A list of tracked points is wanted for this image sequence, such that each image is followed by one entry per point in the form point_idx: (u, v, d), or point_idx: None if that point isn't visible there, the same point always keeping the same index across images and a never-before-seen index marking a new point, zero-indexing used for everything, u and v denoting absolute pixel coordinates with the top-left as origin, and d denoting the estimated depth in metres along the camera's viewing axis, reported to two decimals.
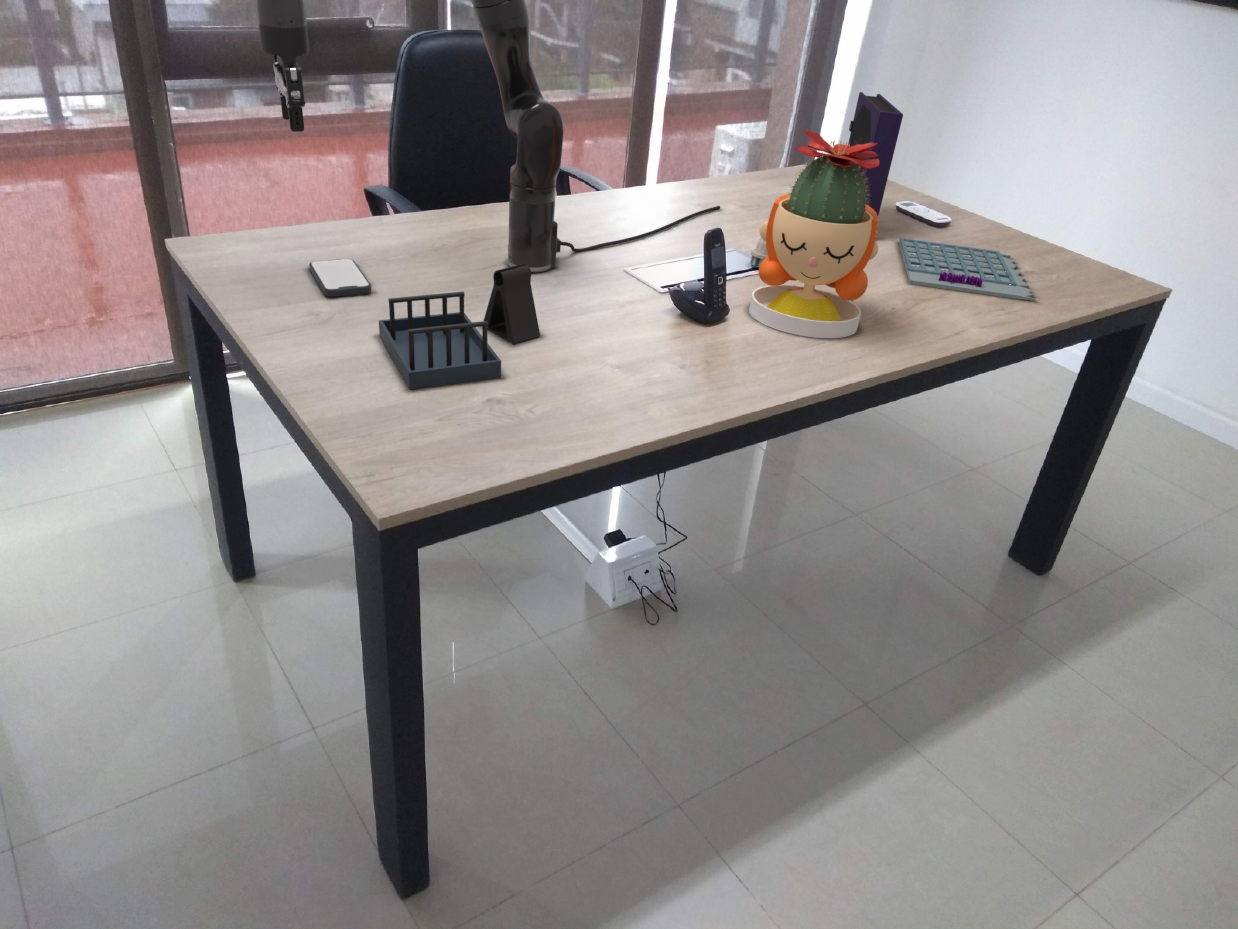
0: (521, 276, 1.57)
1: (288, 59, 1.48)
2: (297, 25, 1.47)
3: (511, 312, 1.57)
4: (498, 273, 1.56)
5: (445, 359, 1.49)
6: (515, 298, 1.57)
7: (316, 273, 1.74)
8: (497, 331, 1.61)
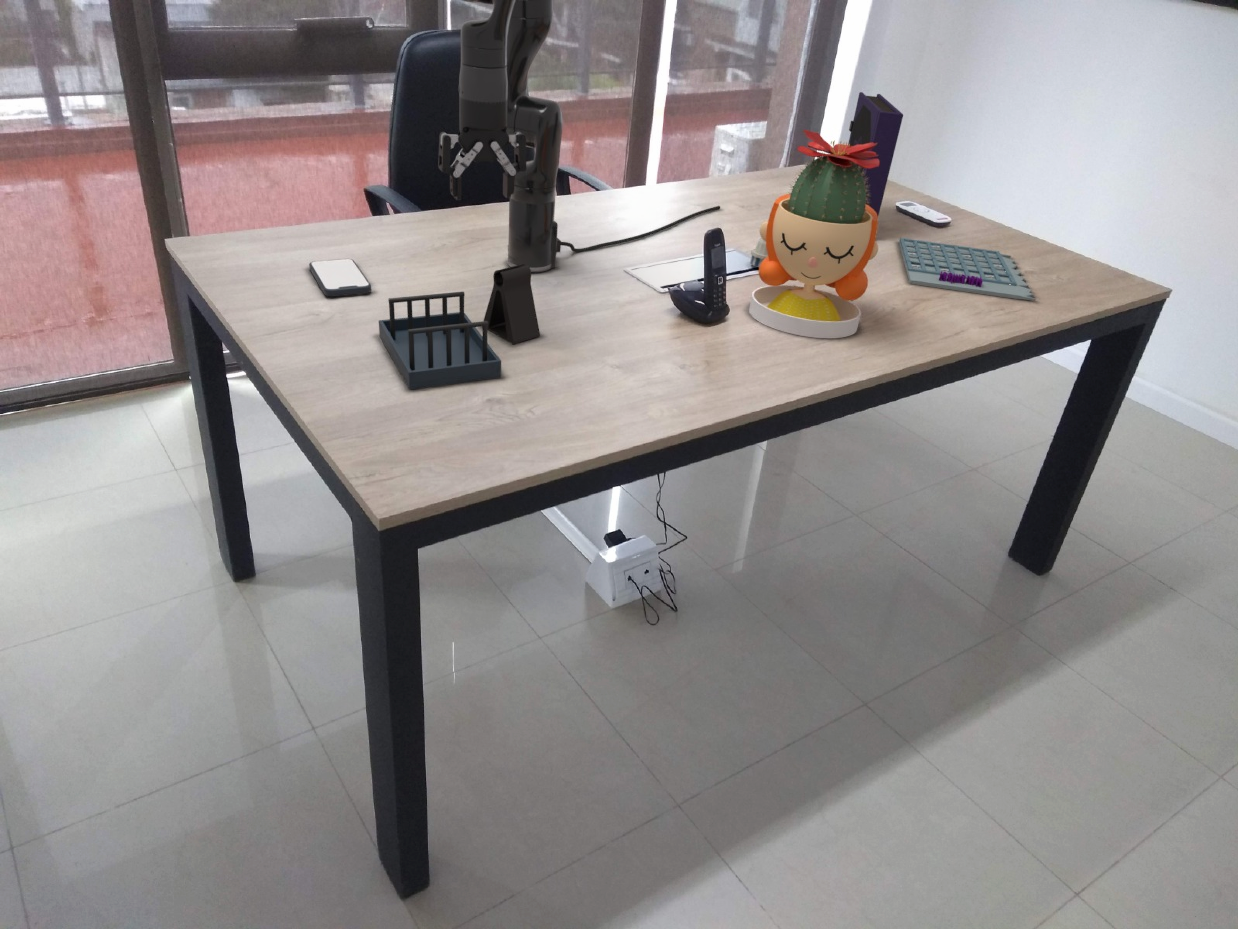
0: (521, 276, 1.57)
1: (460, 127, 1.44)
2: (466, 97, 1.40)
3: (511, 312, 1.57)
4: (498, 273, 1.56)
5: (445, 359, 1.49)
6: (515, 298, 1.57)
7: (316, 273, 1.74)
8: (497, 331, 1.61)
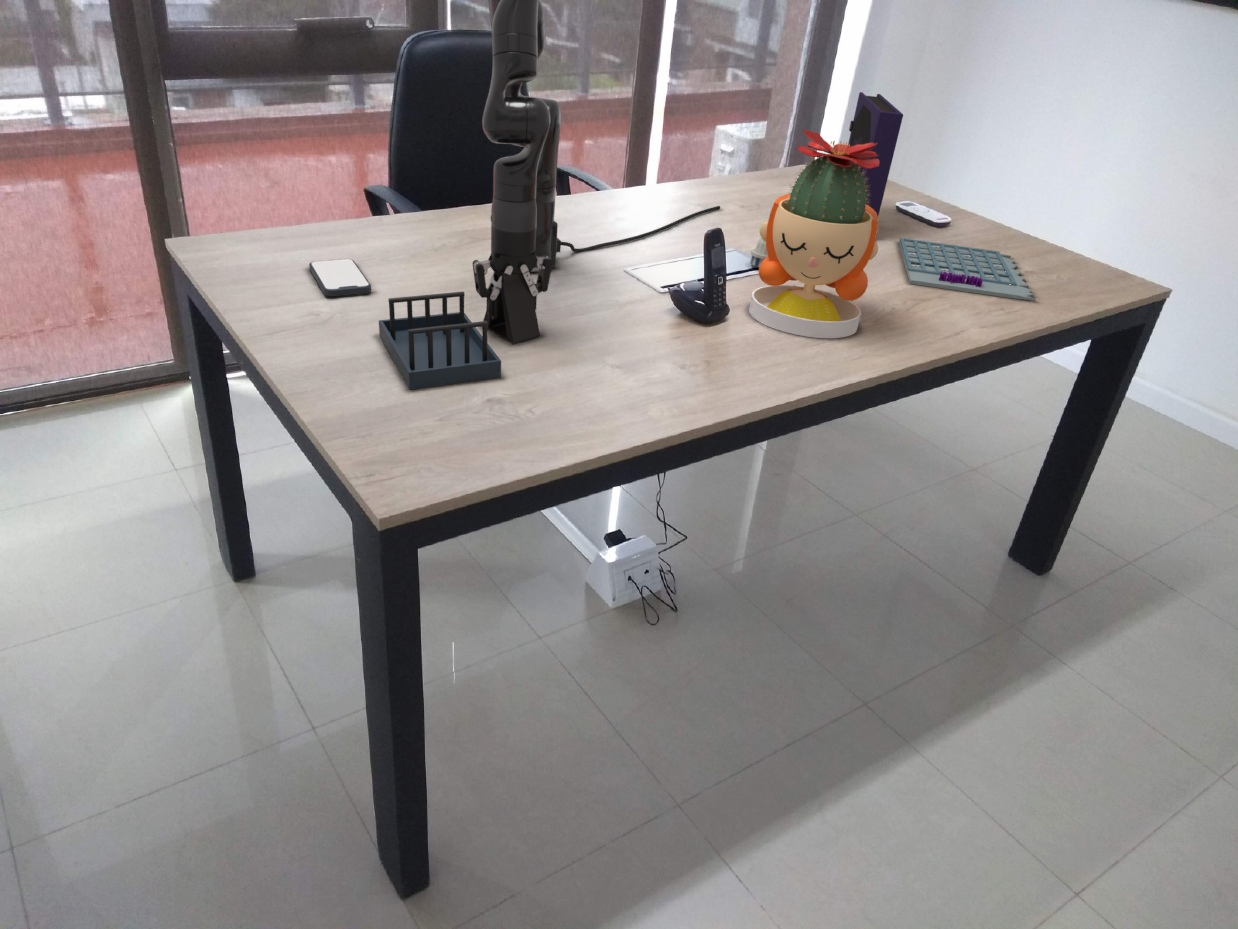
0: (521, 276, 1.57)
1: (491, 252, 1.53)
2: (498, 228, 1.49)
3: (511, 312, 1.57)
4: None
5: (445, 359, 1.49)
6: (515, 298, 1.57)
7: (316, 273, 1.74)
8: (497, 331, 1.62)
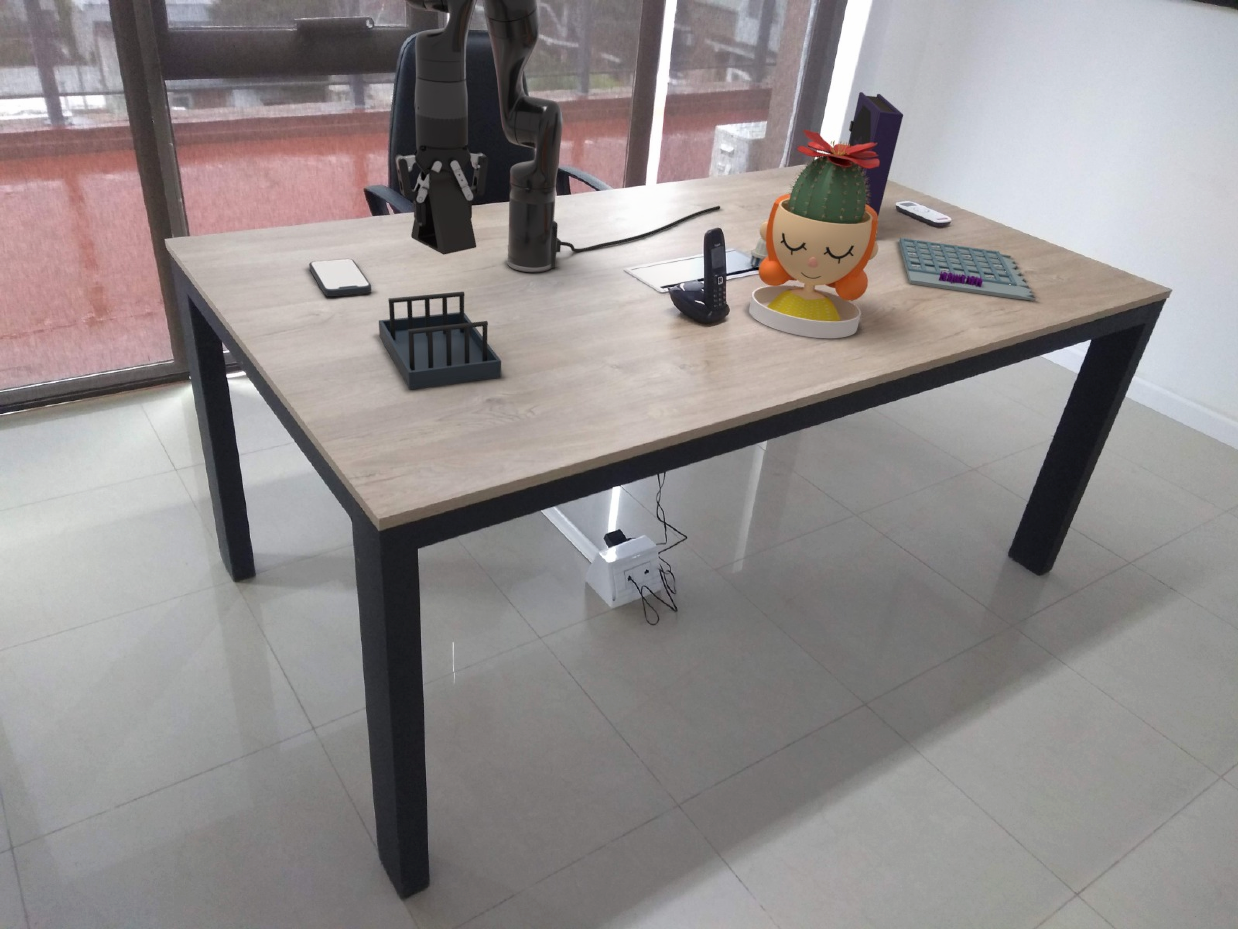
0: (452, 176, 1.37)
1: (416, 146, 1.33)
2: (422, 114, 1.30)
3: (441, 217, 1.37)
4: None
5: (445, 359, 1.49)
6: (445, 201, 1.37)
7: (316, 273, 1.74)
8: (427, 241, 1.42)
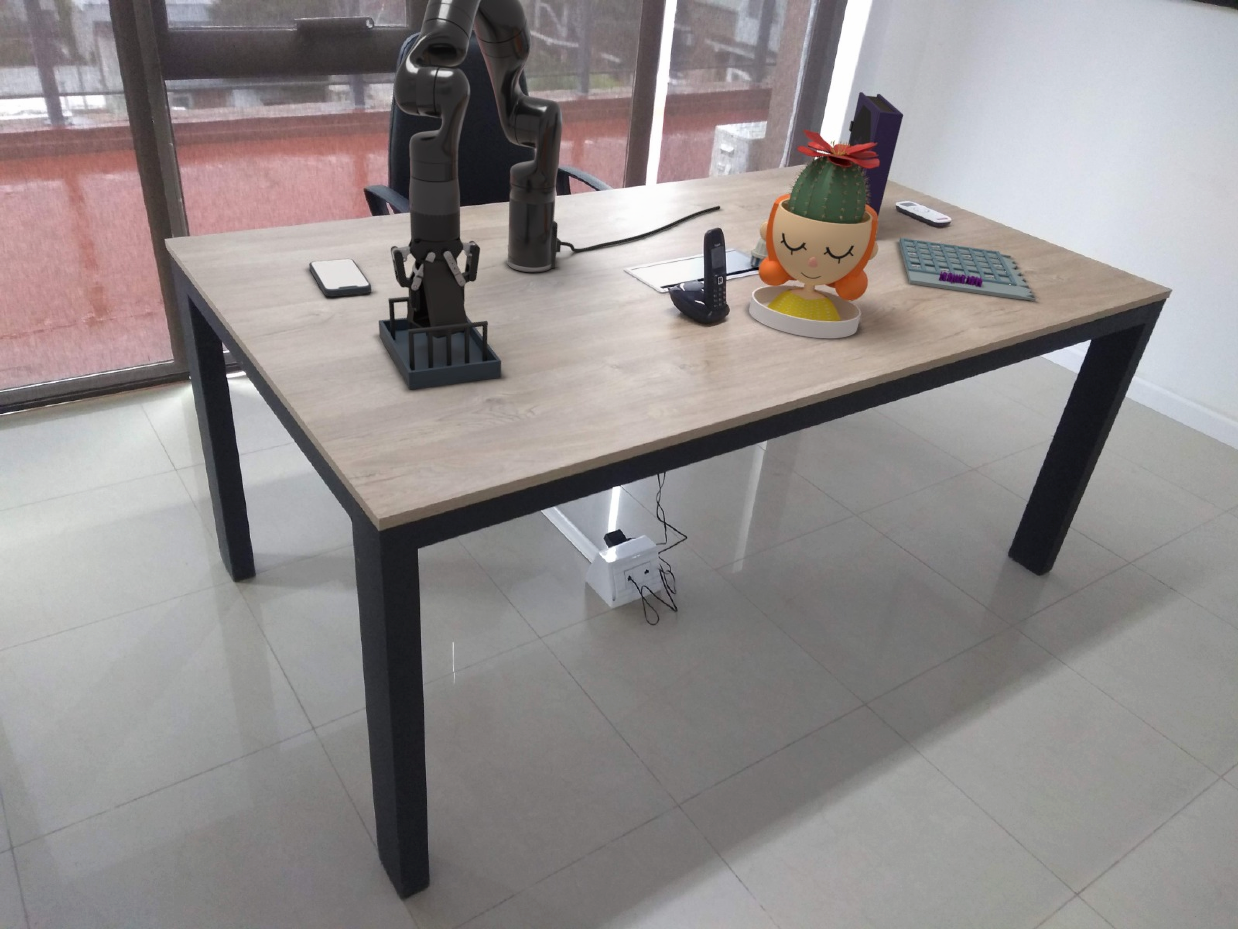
0: (445, 264, 1.43)
1: (411, 238, 1.40)
2: (416, 210, 1.36)
3: (435, 303, 1.44)
4: None
5: (445, 359, 1.49)
6: (439, 289, 1.44)
7: (316, 273, 1.74)
8: (422, 324, 1.48)
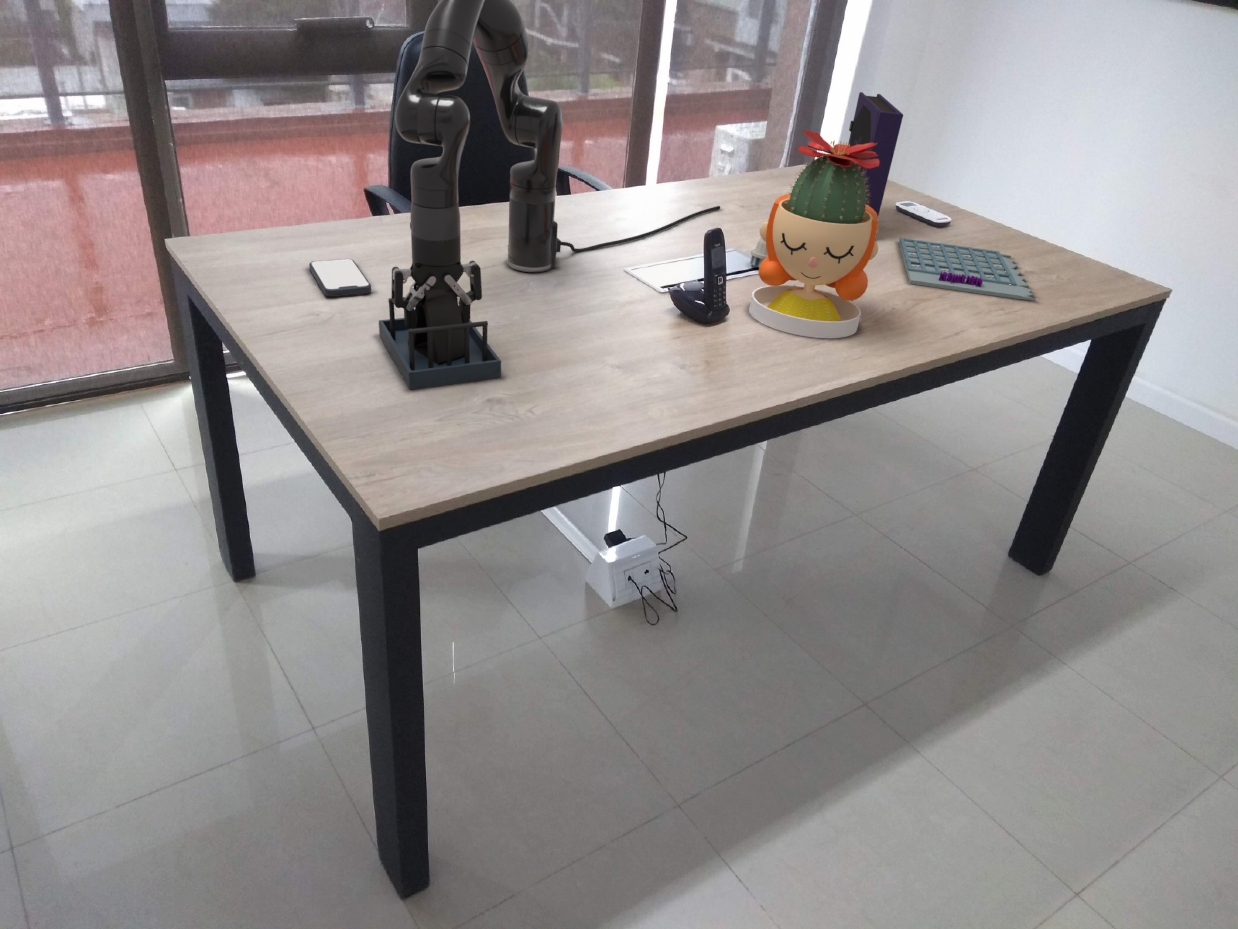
0: (445, 292, 1.46)
1: (412, 262, 1.42)
2: (418, 236, 1.38)
3: None
4: None
5: None
6: (439, 316, 1.46)
7: (316, 273, 1.74)
8: (423, 350, 1.50)
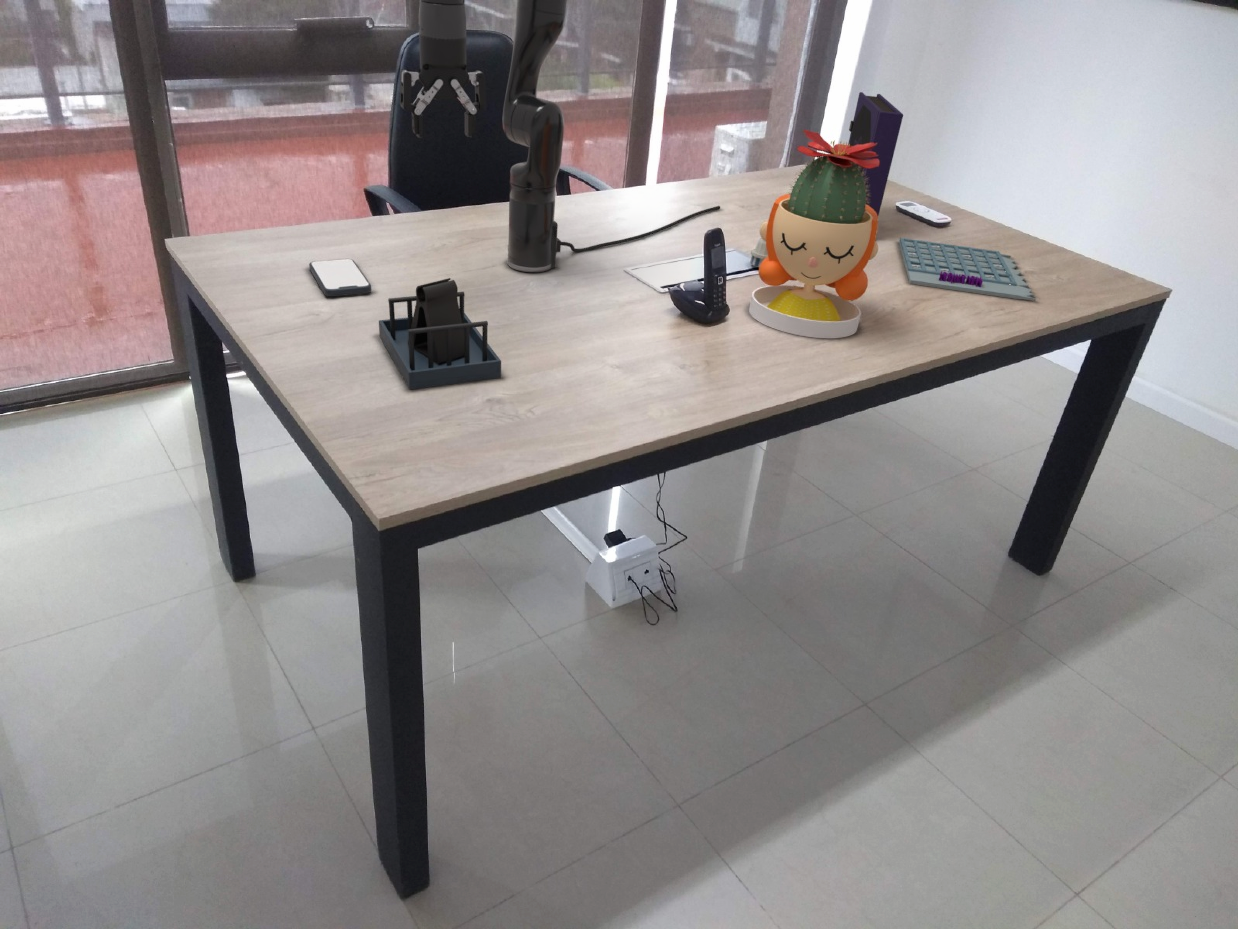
0: (445, 292, 1.46)
1: (420, 65, 1.48)
2: (425, 34, 1.44)
3: None
4: (421, 288, 1.45)
5: None
6: (439, 316, 1.46)
7: (316, 273, 1.74)
8: (423, 350, 1.50)
